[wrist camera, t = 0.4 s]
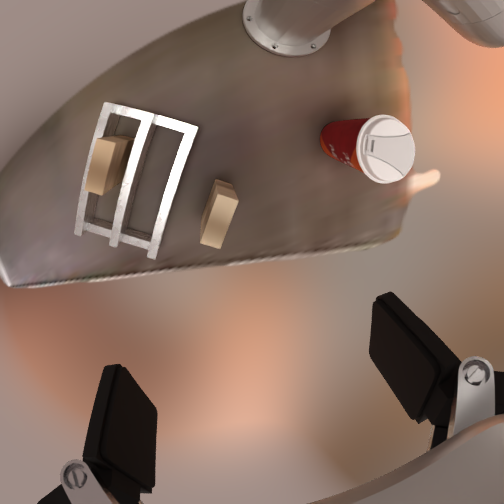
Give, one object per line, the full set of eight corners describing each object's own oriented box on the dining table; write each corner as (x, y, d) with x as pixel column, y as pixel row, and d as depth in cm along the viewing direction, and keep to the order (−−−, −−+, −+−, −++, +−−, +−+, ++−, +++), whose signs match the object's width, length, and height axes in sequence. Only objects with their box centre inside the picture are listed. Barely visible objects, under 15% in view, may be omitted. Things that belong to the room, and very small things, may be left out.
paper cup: (310, 161, 38) (357, 181, 26) (315, 110, 35) (367, 106, 22) (356, 168, 39) (413, 190, 27) (362, 120, 36) (423, 125, 24)
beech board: (215, 178, 37) (217, 193, 29) (231, 184, 38) (238, 200, 30) (201, 217, 39) (200, 242, 31) (217, 222, 40) (220, 249, 32)
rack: (116, 104, 30) (104, 101, 26) (199, 127, 34) (197, 127, 30) (86, 222, 37) (74, 234, 32) (160, 245, 40) (155, 259, 36)
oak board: (120, 134, 32) (96, 138, 24) (136, 139, 33) (115, 143, 25) (109, 175, 34) (84, 190, 26) (124, 180, 35) (102, 195, 27)
